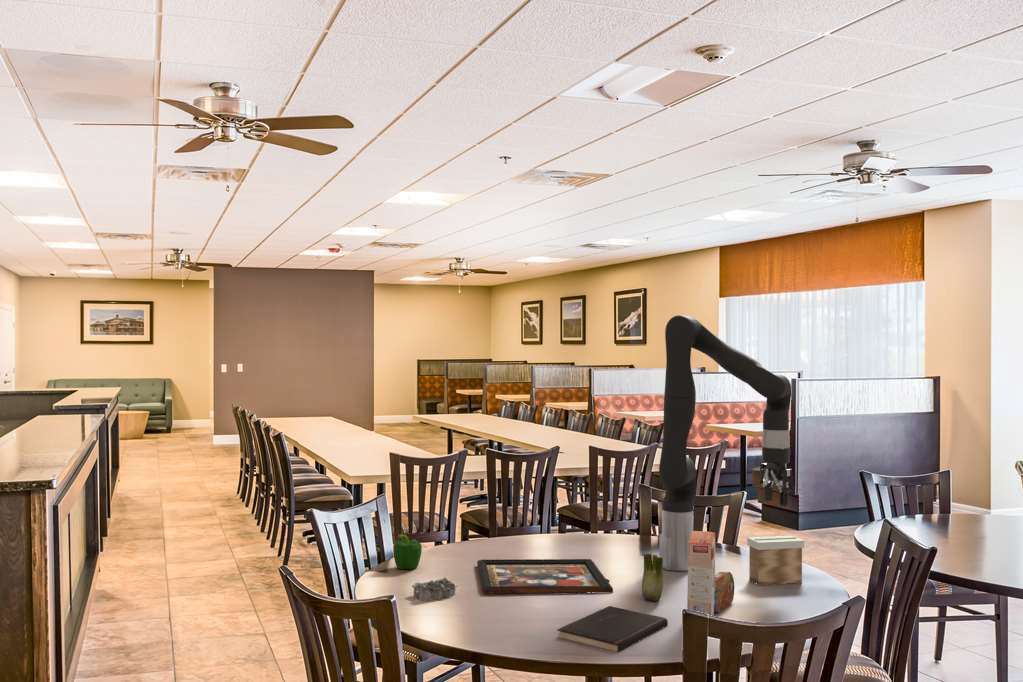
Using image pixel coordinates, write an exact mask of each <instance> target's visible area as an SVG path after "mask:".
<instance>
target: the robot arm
mask: <svg viewBox="0 0 1023 682" xmlns="http://www.w3.org/2000/svg"><path fill="white" fill-rule="evenodd" d="M664 330H665V331H664V332H665V333H664V335H665V336H664V337H665V338H664V340H665V355H666V363H665V365H666V366H665V380H664V381H665V382H664V397H663V427H662V433H663V434H662V447H661V453H660V459H659V466H658V476H659V478H660V479H659V480H660V481H661V483H662V485H664V486H665V487H666V490H665V493H664V494H665V495H664V497H663V498H662V501H661V506H662V507H661V533H660V534H659V535H658V536H659V537H658V539H659V543H658V548H659V549H658V550H659V551H658V553H659V555H658V557H663V565H662V569H664V570H666V571H672V572H673V571H676V572H686V571H687V572H688V543H689V540H690V537H691V534H692V531H694V507H695V506H694V504H695V501H696V495H697V493H696V492H697V469H696V464H695V463H694V461H693V460H692V459H691V458H690V457H689V456H687V444H688V438H689V435H690V432H691V428H692V426H693V422H694V418H695V413H696V401H697V400H696V396H697V395H696V394H697V391H696V385H695V380H694V376H693V372H692V367H691V366H692V365H691V364H692V363H691V357H692V356H691V355H692V349H693V350H697V351H699V352H701V353H703V354H705V355H706V356H708V357H709V358H711V359H712V360H713V361H715V363H717V364H718V365H719V366H720V367H721V368H722V369H724V370H725V371H726V372H727V373H729V374H730V375H732V376H733V377H736V378H737V379H738V380H740V381H741V382H743V383H745V384H747V385H748V386H749V387H751V388H752V389H753V390H754V391H755V392H757V393H758V394H759V395H760V396H762V397H764V398H765V399H766V405H765V409H764V411H763V415H762V435H761V461H762V463H761V462H760V464H759V480H758V481H759V484H760V485H762V487H763V500H764V501H765V502H768V501H769V502H771V501H773V485H774V483H775V485H776V486H777V488H778V490H779V492H778V494H779V495H778V497H779V500H778V501H779V502H778V503H779V506H780V507H786V506H789V504H788V503H789V494H788V493H790V492H793V491H794V482H793V481H794V479H793V475H794V473H793V469H792V468H787V467H786V465H787V464H789V463H790V461H791V460H790V459H791V458H790V457H791V456H790V455H791V448H790V447H791V445H790V443H791V440H790V439H791V437H790V418H789V417H790V416H789V413H790V407H791V399H792V384H791V381H790V380H789V379H788V377H786V376H785V375H782V374H775V373H773V372H772V371H770V370H768V369H766V368H764V367H763V366H762V364H761V363H760V362H758V361H757V360H756V359H754V358H752V357H751V356H749V355H747V354H746V353H744V352H742V351H740V350H739V349H737V348H736V347H733V346H732V345H731V344H728V343H727V342H725V341H723V339H721V338H720V337H718V336H716V335H715V334H714V333H713V332H712V331H710V330H709V329H708V328H707V327H705V326H704V325H703V324H702V323H701V322H700V321H699V320H698V319H696V318H695V317H694V316H690V315H685V314H684V315H683V314H681V315H679V314H678V315H674V316H673V317H672V316H671V318H670V319H669V320H668V321H667V323H666V326H665V329H664Z"/></svg>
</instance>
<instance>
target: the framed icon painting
mask: <svg viewBox="0 0 1023 682" xmlns="http://www.w3.org/2000/svg"><path fill="white" fill-rule="evenodd" d="M476 563H477V572H478V573H477V574H478V576H479V580H480V585H481V591H482V593H483V595H484V596H507V595H508V596H511V595H512V596H513V595H514V596H515V595H517V596H518V595H555V594H556V593H558V594H557V595H559V593H572V594H588V593H587V592H591V593H590V594H593V593H592V592H612V593H614V590H613V589H614V588H613V587H612V585H611V584H610V582H609V580H607V579H606V577H605V576H604V574H603V573H602V571H601V570H600V569H599V567H598V566H597V565H596V564H595V562H594V561H593V560H592V559H591V558H579V559H578V558H574V559H573V558H564V559H563V558H561V559H558V558H557V559H555V558H551V559H547V558H546V559H544V558H543V559H541V558H539V559H479V560H477V562H476Z"/></svg>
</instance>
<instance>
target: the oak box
mask: <svg viewBox="0 0 1023 682" xmlns="http://www.w3.org/2000/svg"><path fill="white" fill-rule="evenodd" d="M748 556H749V561H748V563H749V568H748V569H749V570H748V571H749V572H748V575H749V579H748V580H749V581H750V580H751V581H750V582H752V581H753V582H752V583H754V582H755V583H757V584H759V585H762V586H771V585H770V584H780V585H788V584H787V583H797V584H803V548H788V549H767V550H758V549H756V548H753V547H751V546H749V555H748ZM755 583H754V584H755ZM757 584H756V585H757ZM759 585H758V586H759Z"/></svg>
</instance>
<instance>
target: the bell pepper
mask: <svg viewBox="0 0 1023 682" xmlns="http://www.w3.org/2000/svg"><path fill="white" fill-rule="evenodd" d="M398 538H399V539H401V538H403V539H402V540H397V541H394V543H393V546H392V547H393V548H392V550H393V558H394V563H395V566H396V567H397V569H399V570H415V569H417V568H418V566H419V563H420V561H421V557H422V549H423V548H422V543H421V542H419V541H418V540H417V539H411V540H409V537H408V536H407V535H406V534H399V535H398Z"/></svg>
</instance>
